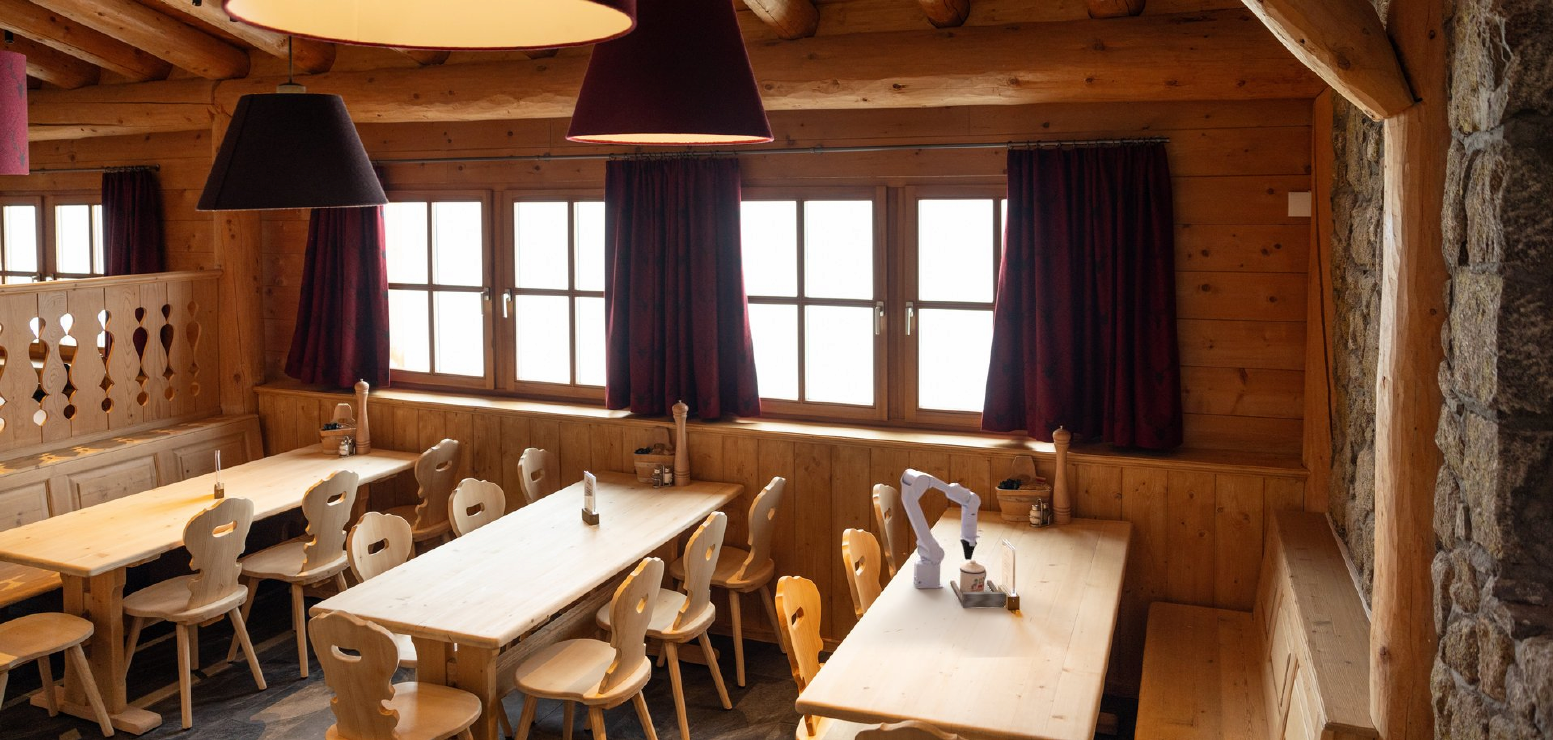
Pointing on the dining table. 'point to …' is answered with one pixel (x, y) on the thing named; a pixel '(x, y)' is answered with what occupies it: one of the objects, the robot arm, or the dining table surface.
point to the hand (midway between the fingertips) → (968, 559)
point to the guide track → (980, 597)
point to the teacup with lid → (972, 577)
